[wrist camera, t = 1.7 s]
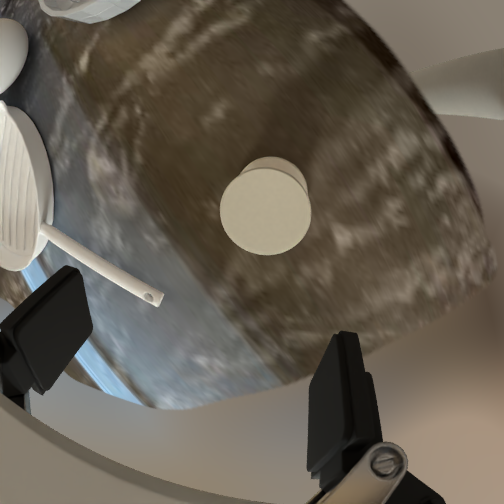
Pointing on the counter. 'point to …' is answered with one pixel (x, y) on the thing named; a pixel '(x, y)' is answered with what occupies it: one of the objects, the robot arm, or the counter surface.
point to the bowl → (86, 9)
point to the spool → (267, 207)
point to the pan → (40, 206)
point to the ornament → (11, 51)
